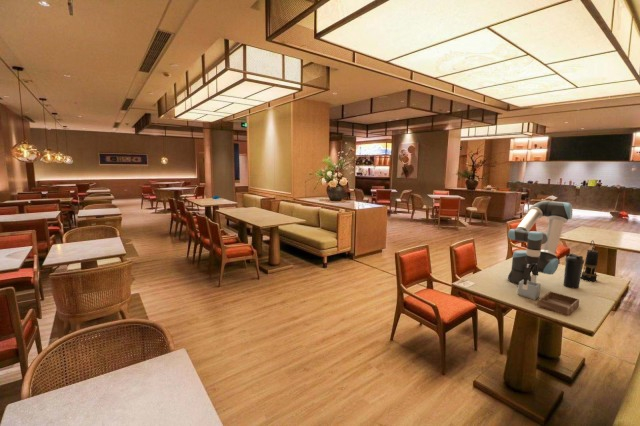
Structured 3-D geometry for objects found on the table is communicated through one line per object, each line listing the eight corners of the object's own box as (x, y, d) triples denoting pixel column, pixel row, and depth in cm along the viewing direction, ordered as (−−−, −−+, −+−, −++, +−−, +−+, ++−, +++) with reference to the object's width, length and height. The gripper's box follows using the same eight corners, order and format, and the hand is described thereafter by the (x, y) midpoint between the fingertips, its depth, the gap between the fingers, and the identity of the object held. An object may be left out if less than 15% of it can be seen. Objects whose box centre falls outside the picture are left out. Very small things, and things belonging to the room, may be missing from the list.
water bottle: (568, 282, 228) (572, 252, 224) (583, 288, 218) (588, 256, 214) (558, 284, 224) (562, 253, 221) (573, 289, 215) (578, 257, 211)
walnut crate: (549, 297, 202) (550, 291, 202) (578, 306, 191) (579, 299, 190) (537, 306, 190) (538, 299, 190) (568, 315, 179) (569, 308, 178)
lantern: (599, 281, 231) (605, 241, 226) (590, 282, 228) (596, 242, 223) (586, 276, 239) (591, 238, 234) (577, 278, 237) (583, 239, 232)
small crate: (521, 292, 211) (523, 279, 209) (538, 297, 203) (540, 284, 202) (517, 294, 207) (518, 281, 205) (534, 300, 199) (536, 286, 197)
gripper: (533, 251, 211) (529, 281, 214) (518, 257, 196) (514, 289, 199) (546, 253, 205) (542, 284, 208) (532, 260, 190) (527, 293, 193)
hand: (528, 286), depth 204 cm, fingers open, 13 cm apart
